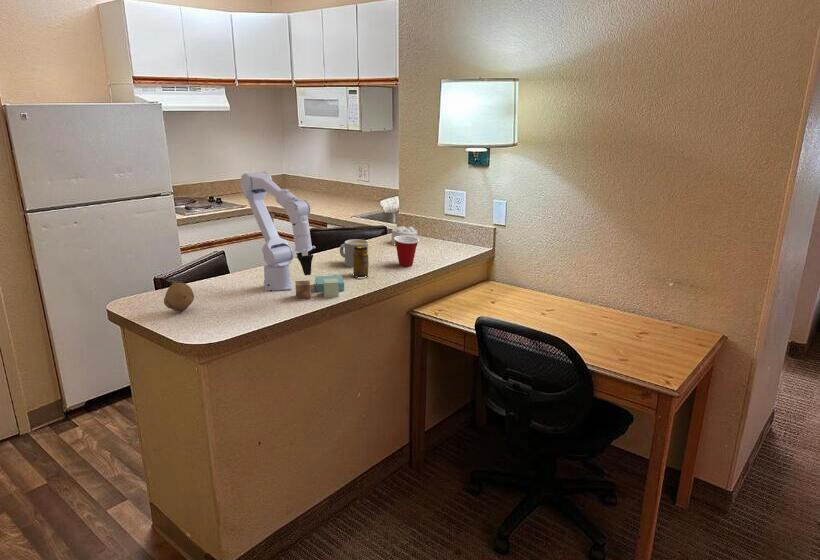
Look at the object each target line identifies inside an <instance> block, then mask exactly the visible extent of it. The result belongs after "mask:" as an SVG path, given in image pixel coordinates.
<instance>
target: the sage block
mask: <svg viewBox="0 0 820 560" xmlns="http://www.w3.org/2000/svg"><path fill="white" fill-rule="evenodd" d="M323 285H324V292H323V295H324V296H323V297H324V298H338V297H340V296H339V292H340V291H339V288H338V280H337V278H333V279H323Z"/></svg>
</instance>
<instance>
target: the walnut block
mask: <svg viewBox="0 0 820 560" xmlns="http://www.w3.org/2000/svg"><path fill="white" fill-rule="evenodd" d="M294 283H295V298H296V299H306V300H311V299H310V298H311V297H312V296H311V295H312V294H311V281H310V280H295V281H294Z"/></svg>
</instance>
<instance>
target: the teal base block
mask: <svg viewBox="0 0 820 560" xmlns="http://www.w3.org/2000/svg"><path fill="white" fill-rule="evenodd" d="M333 278H337V280H338V288H339V292H344V291H345V282H344V278H343V276H342V275H341V274H340V275H339V274H338V275H337V274H336V275H320V276H319V275H317V276H314V279H315V280H314V283H315V287H316V288H315V289H316V293H324V285H323V279H333Z"/></svg>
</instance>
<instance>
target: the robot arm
mask: <svg viewBox="0 0 820 560" xmlns="http://www.w3.org/2000/svg"><path fill="white" fill-rule="evenodd" d="M239 186H240V188H241V190H242V192H243V193H242V194H243V195H244V198H245V199H247V202H248V205H249V206H250V209H251V211H252V214H253V217H254V218H255V220H256V223H257V226H258V228H259V230H260V232H261V234H262V237H263V239H264V242H265V243H264V244H263V246H262V248H261V250H262V254H263V260H264V262H265V264H264V265H263V273H264V274H263V277H264V280H263V284H264V291H265V290H266V291H265V292H268V291H269V292H270V290H272V291H284V290H285V291H288V290H292V282H291V276H290V275H291V274H290V264H291V261H293V259H294V257H295V256H294V251H295V252H296V253H295V254H296V259H298V262H299V263H300V266H301V269H302V272H303V274H304V276H310V275H311V274H312V261H313V258H314V254H313V251H312V250H313V249H316V246H315V245H312V239H311V232H310V231H311V230H310V224H309V217H308V216H309V215H310V214H311V213H310V212H311V206H310V203H309V202H308V200H306V199H301V198H298V197H297V196H295V195H294V194H293V193H292V192H291V191H290V189H286V188H285V189H282V188H280V186H279V185H278V184H277V183H276V182H274V181H273V180H272V175H271V174H269V173H268V172H267V171H262V172H253V173H252V172H251V173H246V172H245V173H243V174H242V175H241V176H240V181H239ZM268 194H270V195H271V196H273V197H274V198H275V201H276V203H277V204H278V205H279V206H280V207H282V208H283V209H284V210H285V212H286V215H287V217H288V218H289V222H290V224H291V227H292V233H293V241H294V246H295V247H294V250H293V249H292V247H291V245H289V243H288V241H287V239H284V238H282V237H280V235H279V232H278V230H277V228H276V226H275V224H274V222H273V220H272V217H271V215H270V211H269V210H268V207H267V206H266V203H265V201H264V198H265V197H266V196H267V195H268ZM311 276H312V275H311ZM267 290H268V291H267Z"/></svg>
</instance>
